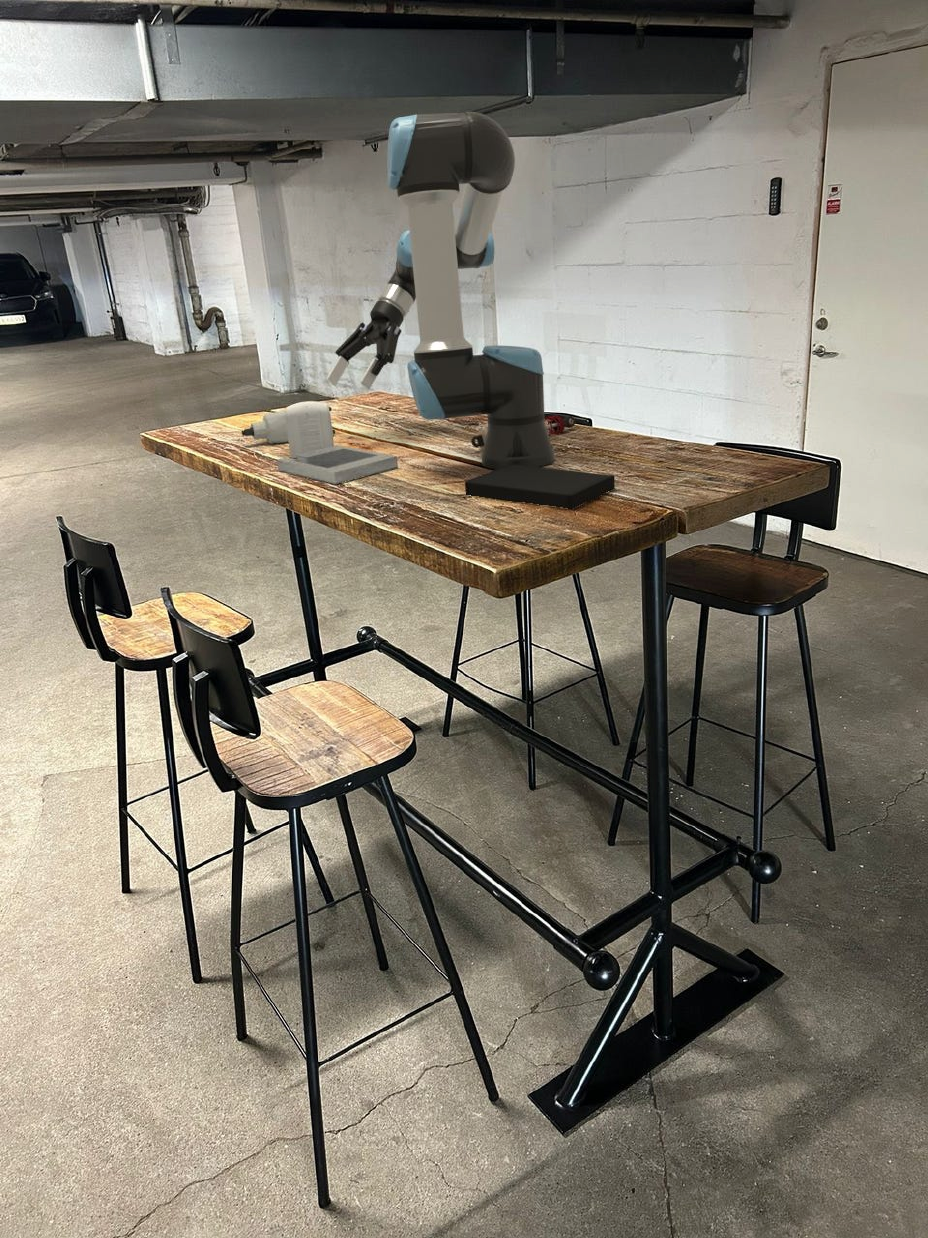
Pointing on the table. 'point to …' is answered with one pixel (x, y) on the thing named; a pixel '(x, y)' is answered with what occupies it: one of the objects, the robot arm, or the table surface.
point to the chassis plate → (337, 464)
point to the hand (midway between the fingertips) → (347, 384)
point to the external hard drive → (540, 486)
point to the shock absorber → (555, 423)
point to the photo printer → (308, 427)
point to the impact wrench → (271, 428)
